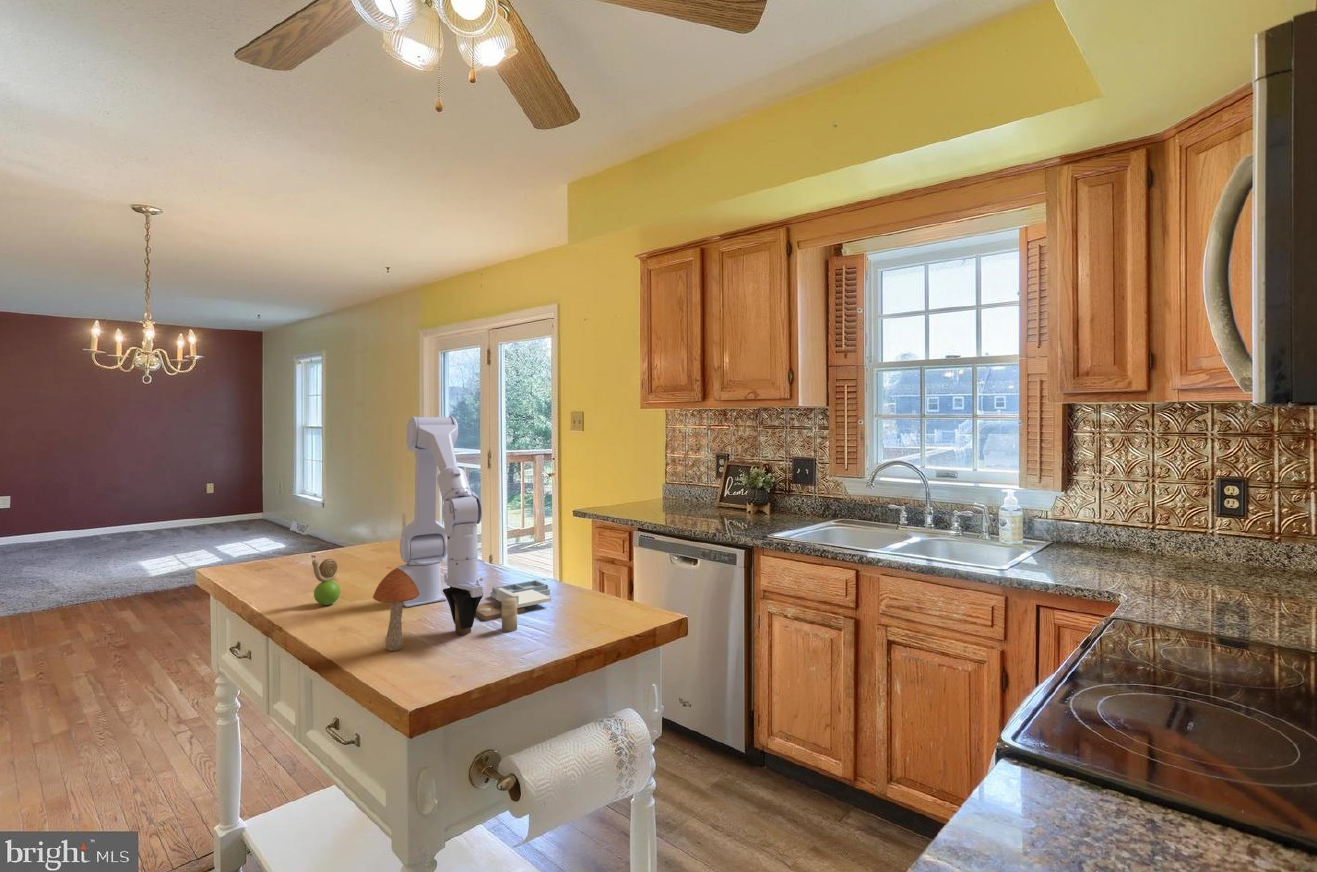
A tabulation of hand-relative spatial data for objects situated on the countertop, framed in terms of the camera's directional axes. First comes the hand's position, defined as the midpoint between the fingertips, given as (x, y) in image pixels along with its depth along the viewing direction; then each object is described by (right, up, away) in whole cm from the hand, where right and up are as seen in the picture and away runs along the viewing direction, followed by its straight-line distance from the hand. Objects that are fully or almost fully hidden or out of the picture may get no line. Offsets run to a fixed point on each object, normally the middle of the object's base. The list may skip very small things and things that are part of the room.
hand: (463, 625), depth 128 cm
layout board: (+3, -1, +14) cm, 14 cm away
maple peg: (+9, -1, +2) cm, 9 cm away
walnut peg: (0, -1, 0) cm, 1 cm away
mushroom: (-10, -2, -9) cm, 13 cm away
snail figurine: (-37, -1, +19) cm, 42 cm away
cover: (+8, 0, +18) cm, 19 cm away
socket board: (+6, -1, +26) cm, 27 cm away
